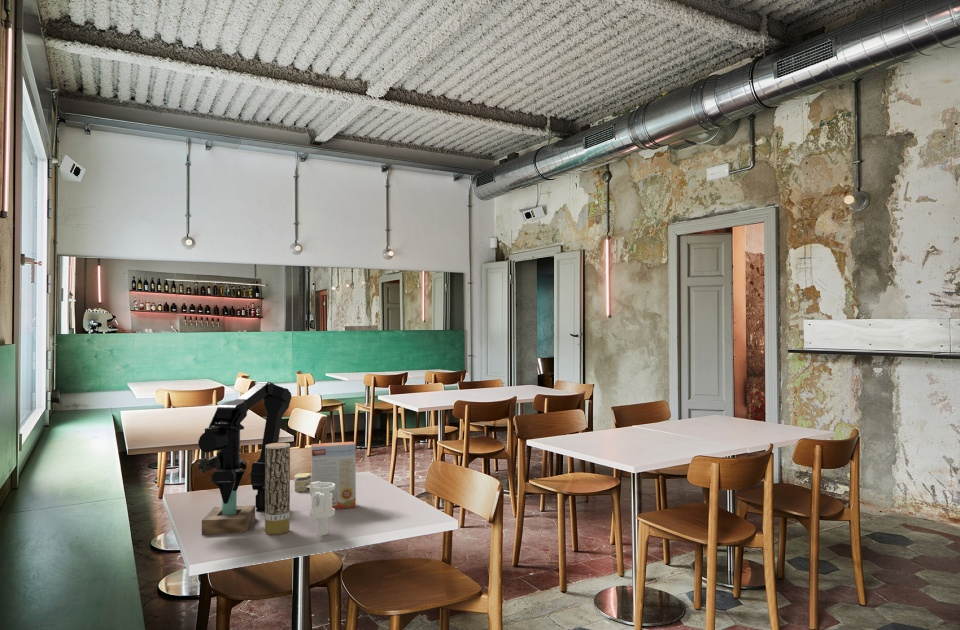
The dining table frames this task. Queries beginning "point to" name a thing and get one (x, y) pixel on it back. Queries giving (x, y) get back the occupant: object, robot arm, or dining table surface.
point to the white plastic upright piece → (321, 505)
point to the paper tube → (277, 488)
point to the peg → (230, 505)
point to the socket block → (228, 520)
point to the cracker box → (336, 471)
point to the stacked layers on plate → (302, 481)
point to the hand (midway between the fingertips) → (229, 499)
